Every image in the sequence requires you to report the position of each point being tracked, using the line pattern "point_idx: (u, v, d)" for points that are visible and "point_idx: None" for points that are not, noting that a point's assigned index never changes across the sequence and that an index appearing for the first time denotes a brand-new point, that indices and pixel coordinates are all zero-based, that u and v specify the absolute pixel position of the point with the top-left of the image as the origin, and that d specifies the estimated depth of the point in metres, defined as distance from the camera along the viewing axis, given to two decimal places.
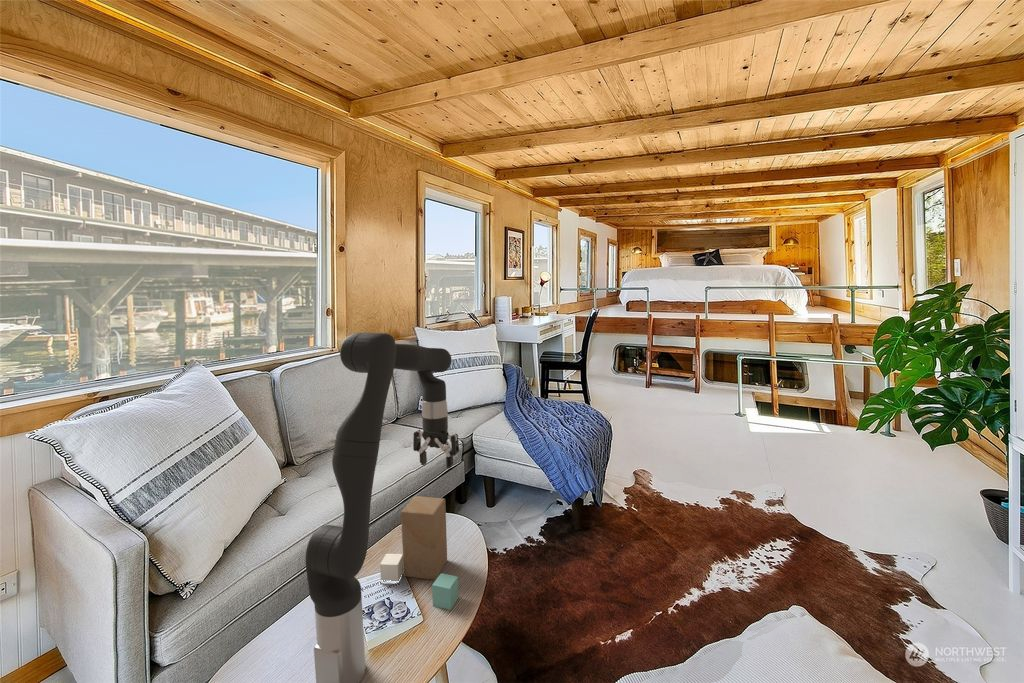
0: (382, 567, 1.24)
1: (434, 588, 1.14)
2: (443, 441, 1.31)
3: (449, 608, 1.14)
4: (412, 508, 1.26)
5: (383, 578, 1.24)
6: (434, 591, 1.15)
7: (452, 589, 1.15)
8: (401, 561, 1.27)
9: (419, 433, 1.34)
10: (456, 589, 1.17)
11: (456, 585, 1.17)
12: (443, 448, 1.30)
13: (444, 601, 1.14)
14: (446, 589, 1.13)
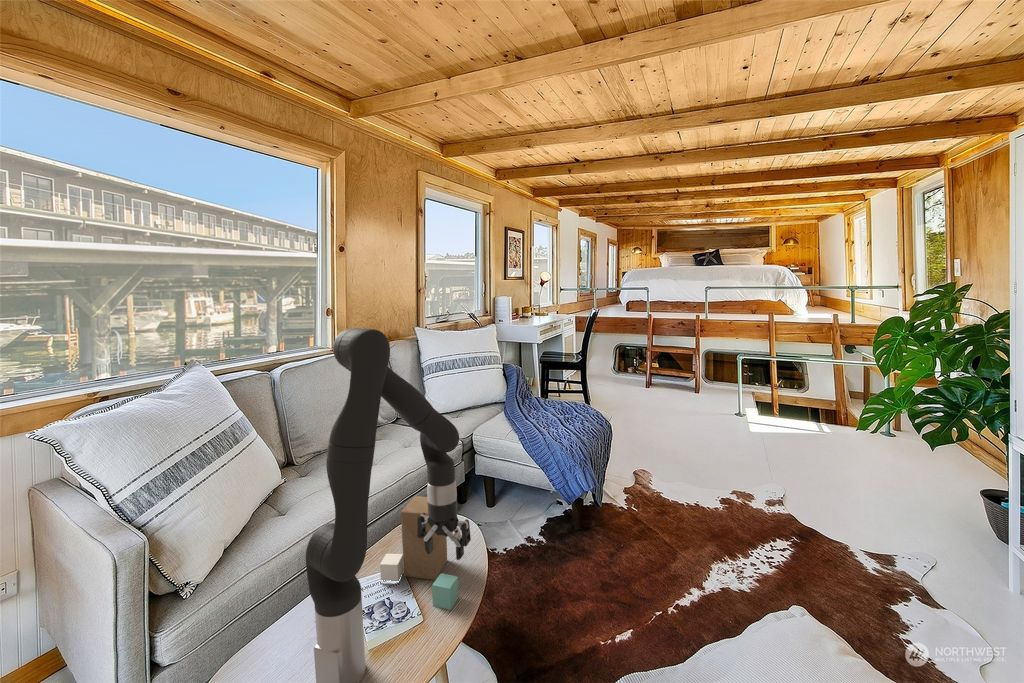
0: (382, 567, 1.24)
1: (434, 588, 1.14)
2: (452, 529, 1.12)
3: (449, 608, 1.14)
4: (412, 508, 1.26)
5: (383, 578, 1.24)
6: (434, 591, 1.15)
7: (452, 589, 1.15)
8: (401, 561, 1.27)
9: (424, 518, 1.15)
10: (456, 589, 1.17)
11: (456, 585, 1.17)
12: (452, 538, 1.12)
13: (444, 602, 1.14)
14: (446, 589, 1.13)
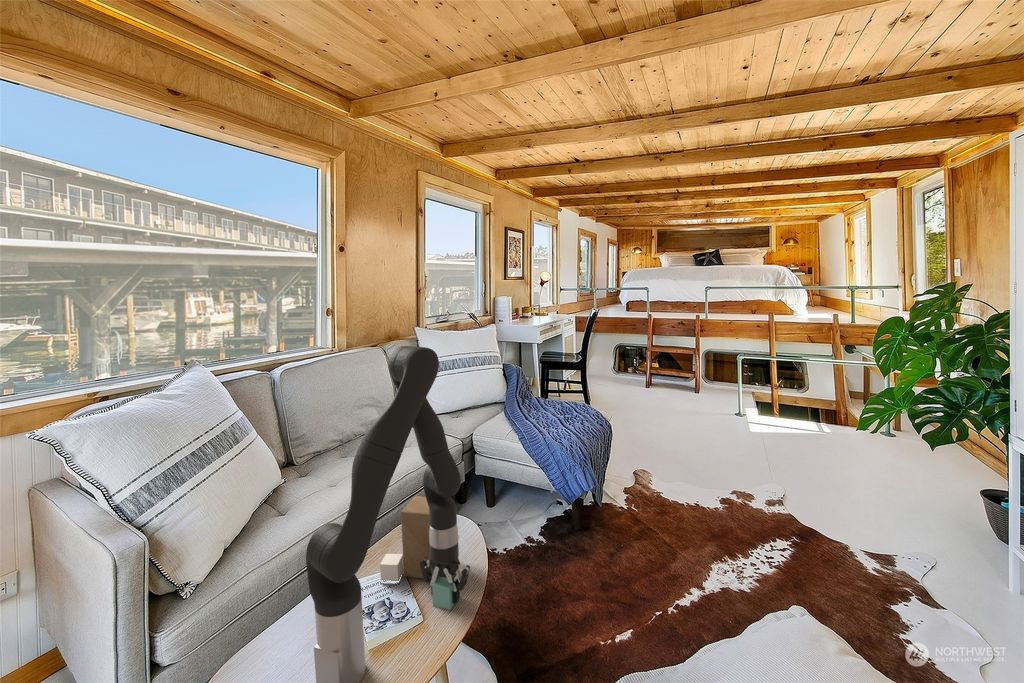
0: (382, 567, 1.24)
1: (434, 588, 1.14)
2: (453, 573, 1.14)
3: (449, 608, 1.14)
4: (412, 508, 1.26)
5: (383, 578, 1.24)
6: (434, 591, 1.15)
7: None
8: (401, 561, 1.27)
9: (426, 561, 1.17)
10: None
11: None
12: (451, 581, 1.14)
13: (444, 601, 1.14)
14: (446, 588, 1.13)
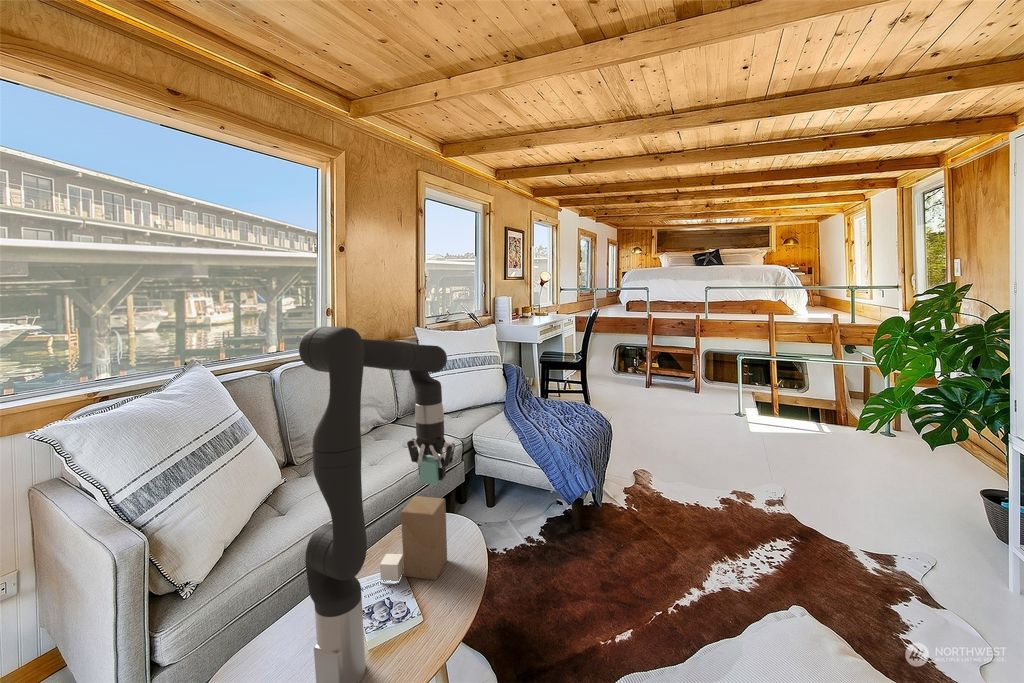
0: (382, 567, 1.24)
1: (421, 465, 1.19)
2: (438, 450, 1.18)
3: (435, 483, 1.18)
4: (412, 508, 1.26)
5: (383, 578, 1.24)
6: (421, 468, 1.19)
7: None
8: (401, 561, 1.27)
9: (413, 441, 1.21)
10: None
11: None
12: (436, 458, 1.18)
13: (431, 477, 1.18)
14: (432, 464, 1.17)
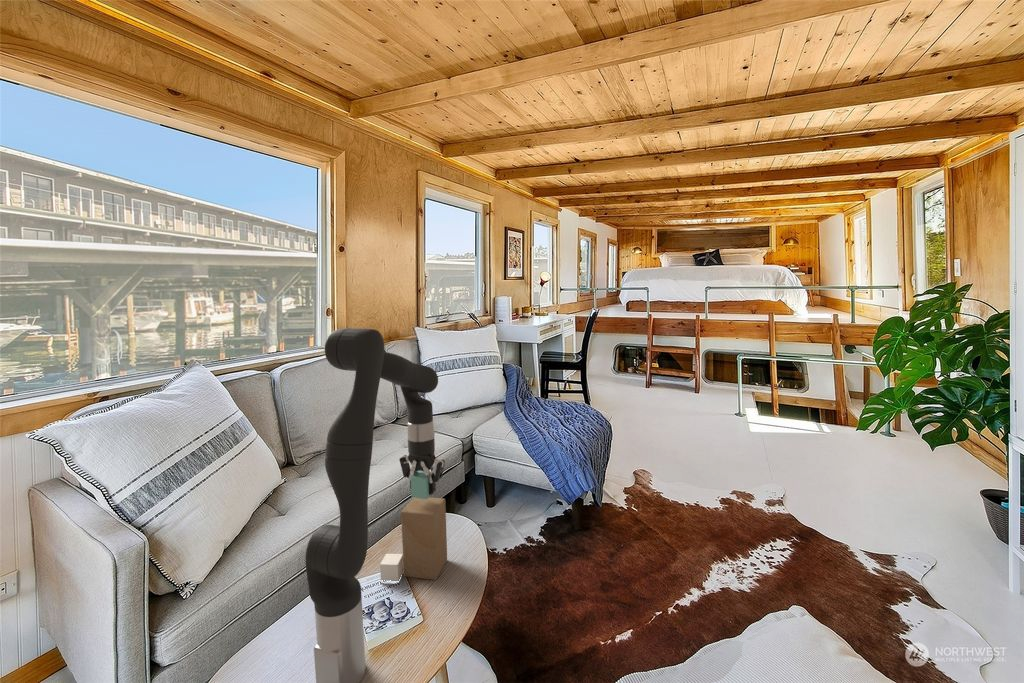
0: (382, 567, 1.24)
1: (412, 480, 1.26)
2: (429, 466, 1.25)
3: (426, 497, 1.25)
4: (412, 508, 1.26)
5: (383, 578, 1.24)
6: (412, 483, 1.26)
7: None
8: (401, 561, 1.27)
9: (405, 458, 1.28)
10: None
11: None
12: (427, 473, 1.25)
13: (421, 492, 1.25)
14: (423, 479, 1.25)
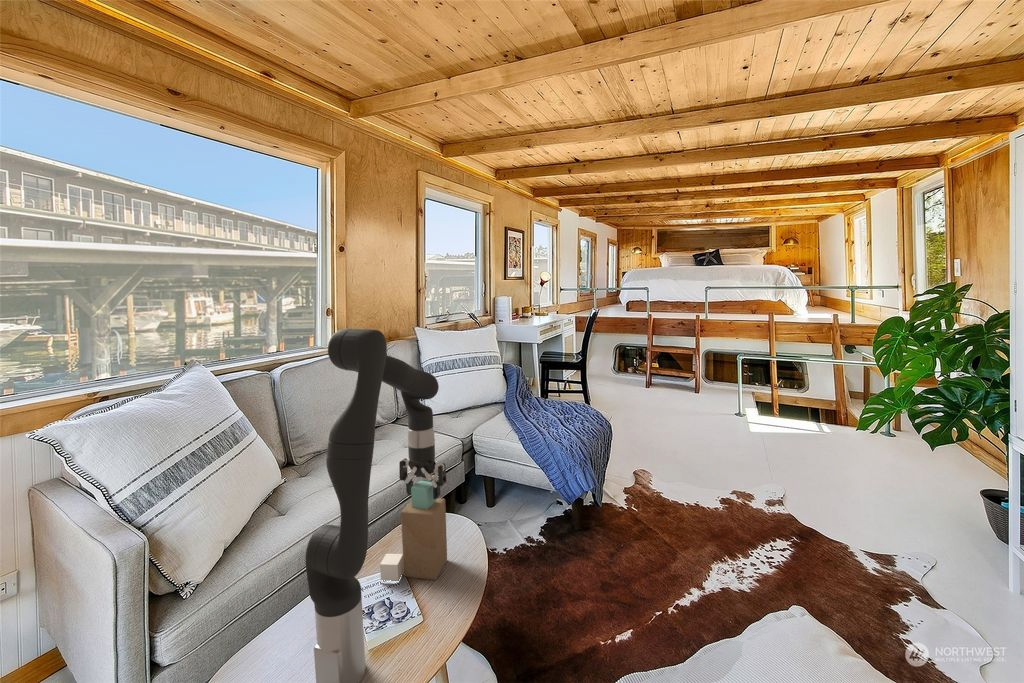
0: (382, 567, 1.24)
1: (413, 490, 1.26)
2: (430, 471, 1.25)
3: (426, 508, 1.26)
4: (412, 508, 1.26)
5: (383, 578, 1.24)
6: (413, 493, 1.26)
7: (429, 491, 1.27)
8: (401, 561, 1.27)
9: (405, 462, 1.28)
10: None
11: None
12: (430, 478, 1.25)
13: (422, 502, 1.26)
14: (423, 490, 1.25)
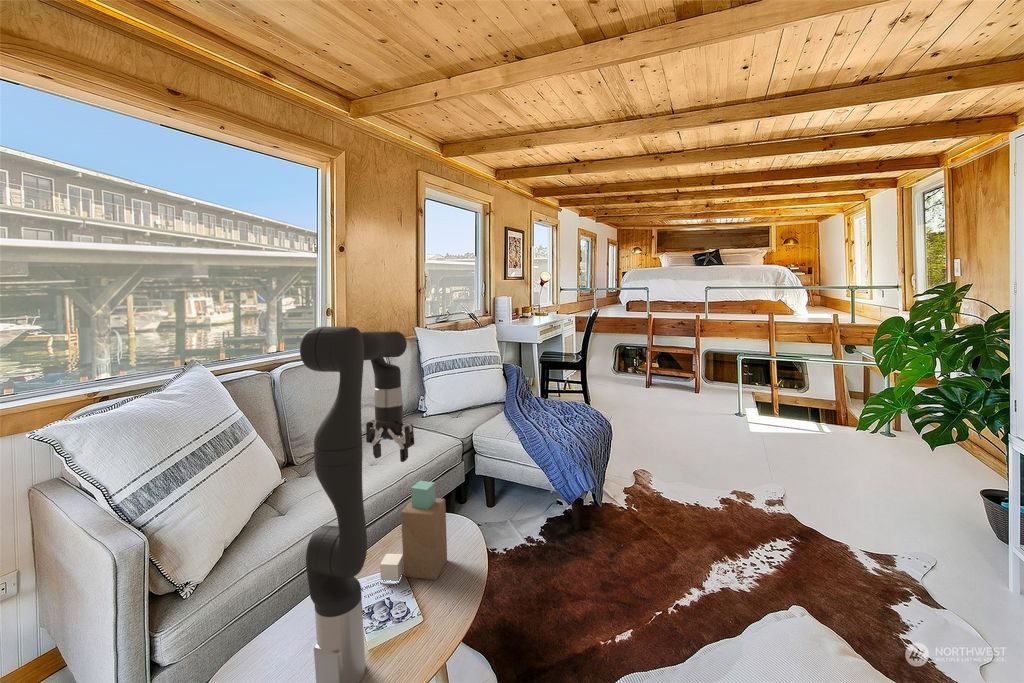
0: (382, 567, 1.24)
1: (413, 490, 1.26)
2: (397, 432, 1.21)
3: (426, 508, 1.26)
4: (412, 508, 1.26)
5: (383, 578, 1.24)
6: (413, 493, 1.26)
7: (429, 491, 1.27)
8: (401, 561, 1.27)
9: (372, 423, 1.24)
10: (433, 493, 1.29)
11: (433, 490, 1.29)
12: (396, 440, 1.20)
13: (422, 502, 1.26)
14: (423, 490, 1.25)
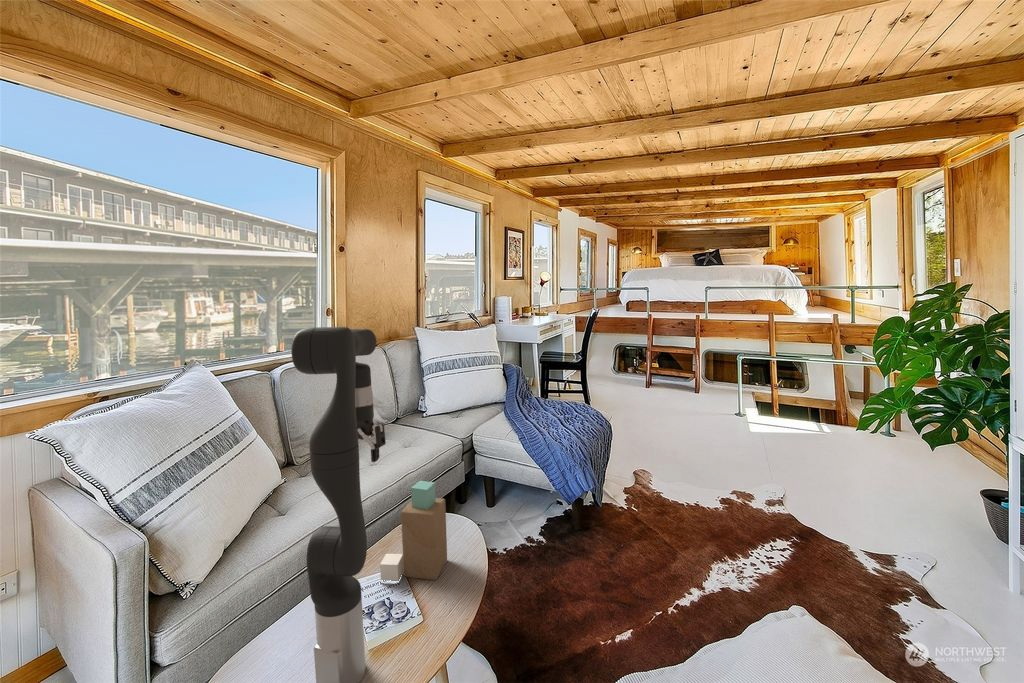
0: (382, 567, 1.24)
1: (413, 490, 1.26)
2: (367, 432, 1.18)
3: (426, 508, 1.26)
4: (412, 508, 1.26)
5: (383, 578, 1.24)
6: (413, 493, 1.26)
7: (429, 491, 1.27)
8: (401, 561, 1.27)
9: None
10: (433, 493, 1.29)
11: (433, 490, 1.29)
12: (367, 440, 1.18)
13: (422, 502, 1.26)
14: (423, 490, 1.25)
